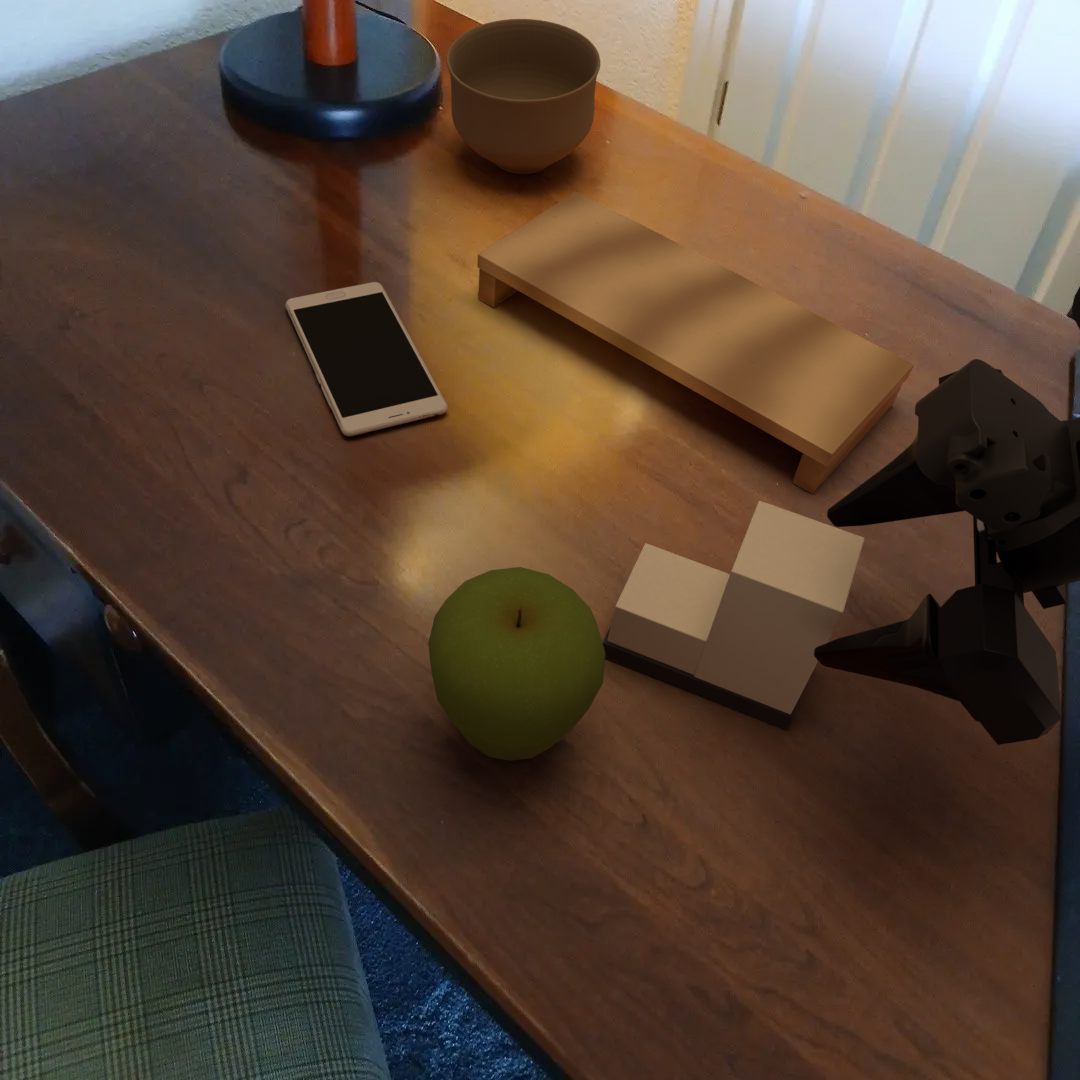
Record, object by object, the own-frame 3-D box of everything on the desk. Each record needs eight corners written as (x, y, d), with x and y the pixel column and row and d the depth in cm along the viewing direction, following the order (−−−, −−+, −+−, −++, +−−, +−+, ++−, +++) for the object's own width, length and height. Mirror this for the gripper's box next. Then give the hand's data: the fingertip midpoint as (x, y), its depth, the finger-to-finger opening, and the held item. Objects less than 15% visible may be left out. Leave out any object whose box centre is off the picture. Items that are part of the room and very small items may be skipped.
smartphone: (380, 279, 80) (450, 408, 71) (380, 286, 80) (450, 415, 72) (282, 298, 77) (343, 434, 69) (283, 305, 78) (344, 441, 69)
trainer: (809, 657, 61) (869, 537, 53) (786, 730, 58) (847, 615, 50) (631, 589, 64) (661, 463, 55) (599, 656, 60) (626, 534, 52)
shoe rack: (895, 406, 76) (914, 364, 73) (814, 496, 70) (832, 454, 67) (571, 233, 87) (576, 190, 84) (475, 297, 80) (477, 253, 77)
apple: (617, 756, 56) (651, 635, 47) (482, 833, 53) (492, 718, 44) (530, 640, 61) (547, 509, 52) (400, 703, 57) (394, 575, 48)
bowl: (415, 160, 92) (414, 47, 84) (511, 111, 99) (518, 2, 91) (523, 221, 87) (531, 107, 80) (616, 166, 94) (632, 55, 86)
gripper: (1072, 219, 46) (760, 358, 55) (1118, 532, 34) (712, 639, 43) (1159, 394, 51) (862, 493, 60) (1226, 717, 39) (843, 777, 49)
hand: (824, 584), depth 53 cm, fingers open, 9 cm apart
